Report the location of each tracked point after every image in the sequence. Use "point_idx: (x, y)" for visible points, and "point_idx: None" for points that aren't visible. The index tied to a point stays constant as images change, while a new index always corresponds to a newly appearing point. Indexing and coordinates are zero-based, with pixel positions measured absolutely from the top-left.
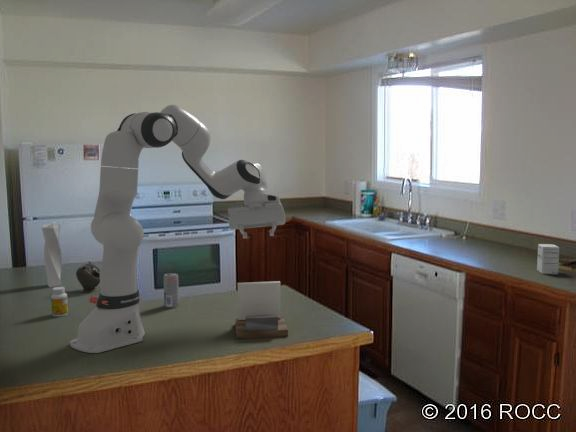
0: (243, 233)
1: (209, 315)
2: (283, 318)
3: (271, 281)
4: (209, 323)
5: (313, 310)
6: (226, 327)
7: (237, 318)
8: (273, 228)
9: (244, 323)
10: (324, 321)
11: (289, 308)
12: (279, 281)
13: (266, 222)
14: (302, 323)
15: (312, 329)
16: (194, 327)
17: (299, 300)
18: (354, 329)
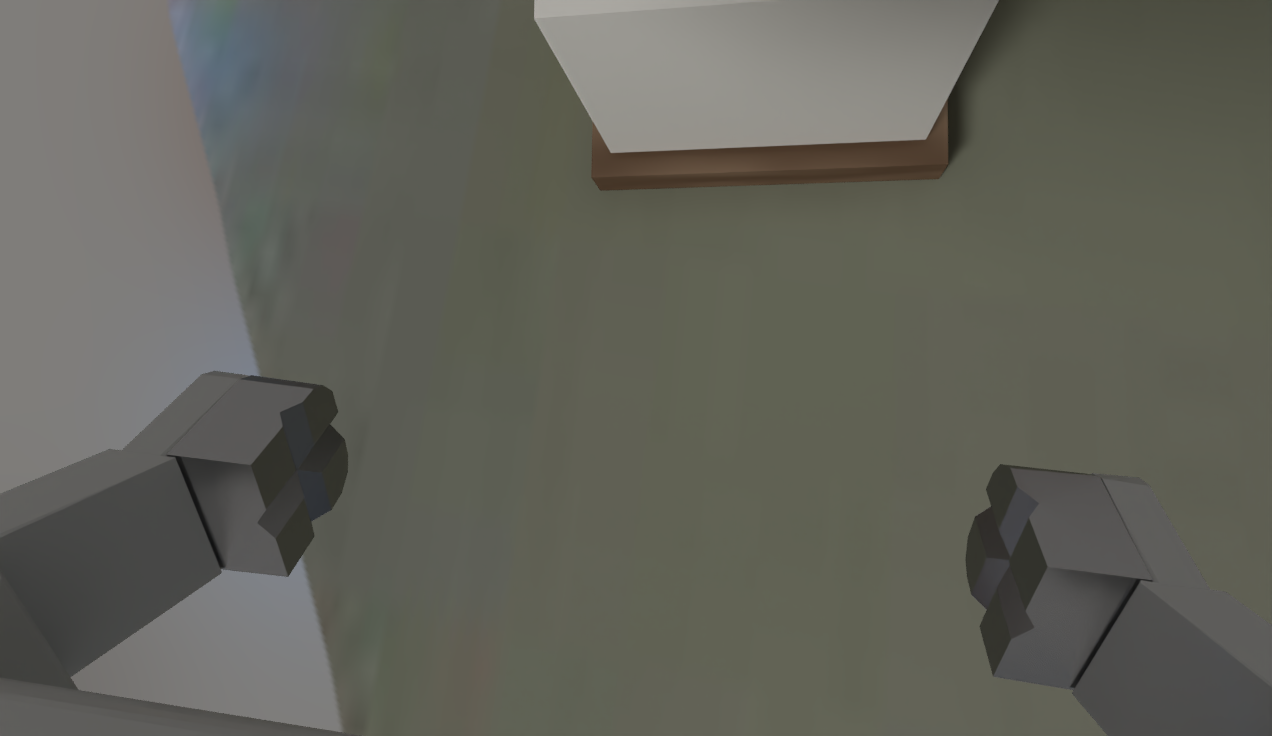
0: (1152, 536)
1: (1153, 430)
2: (594, 128)
3: (620, 10)
4: (1142, 226)
5: (359, 422)
6: (1005, 121)
7: (929, 164)
8: (95, 464)
9: None
10: (344, 175)
11: (510, 502)
12: (539, 4)
13: (123, 716)
14: (482, 150)
15: (445, 31)
16: (1262, 145)
17: (404, 702)
18: (220, 12)
